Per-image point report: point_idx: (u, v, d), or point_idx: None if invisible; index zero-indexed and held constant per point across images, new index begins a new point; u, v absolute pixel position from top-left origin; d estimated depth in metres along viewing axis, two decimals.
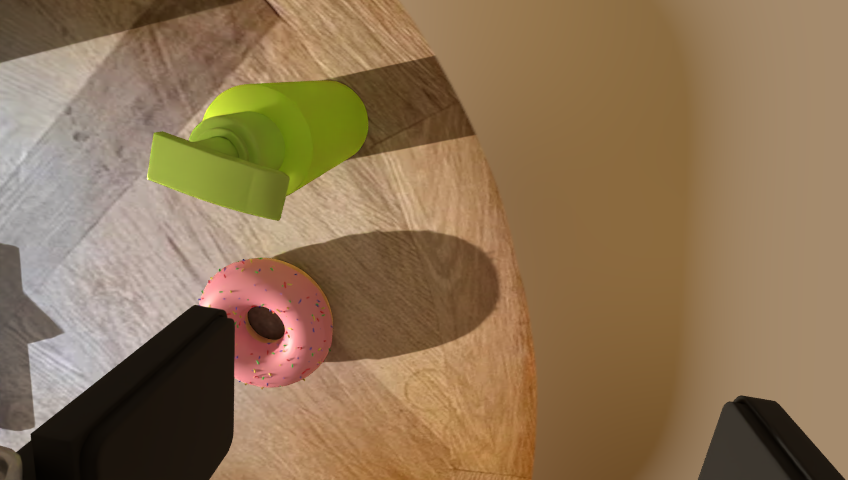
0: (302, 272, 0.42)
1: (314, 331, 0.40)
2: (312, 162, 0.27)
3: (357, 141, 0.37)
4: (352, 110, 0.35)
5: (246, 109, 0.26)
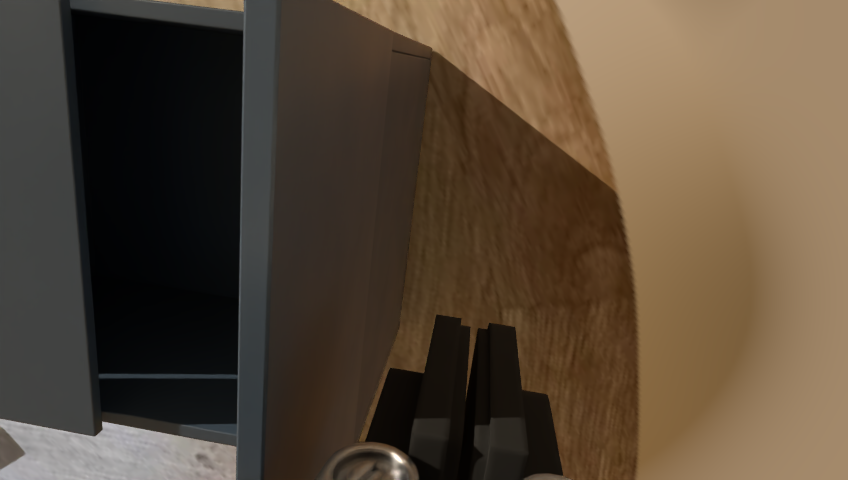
0: None
1: None
2: None
3: None
4: None
5: None
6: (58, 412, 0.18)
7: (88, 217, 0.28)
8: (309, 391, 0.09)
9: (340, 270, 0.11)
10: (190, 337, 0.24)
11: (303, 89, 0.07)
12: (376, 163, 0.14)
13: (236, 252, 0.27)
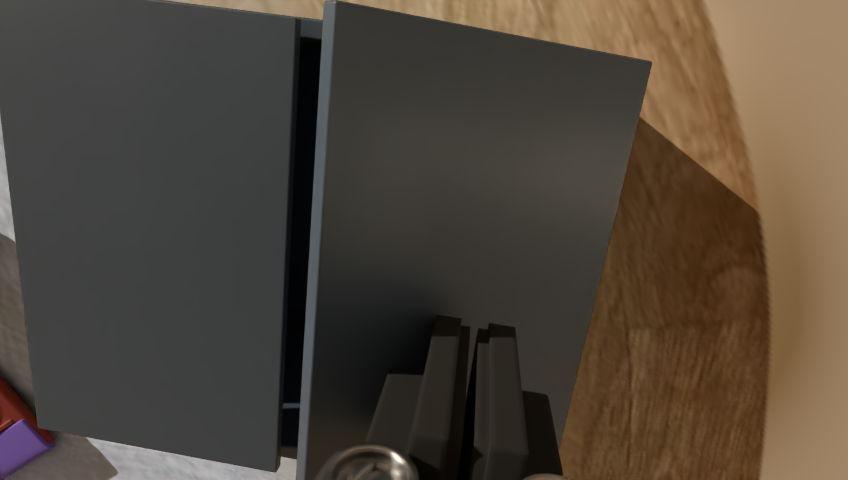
0: None
1: None
2: None
3: None
4: None
5: None
6: (239, 448, 0.17)
7: None
8: (411, 356, 0.11)
9: (489, 272, 0.12)
10: None
11: (383, 88, 0.09)
12: (602, 194, 0.13)
13: None
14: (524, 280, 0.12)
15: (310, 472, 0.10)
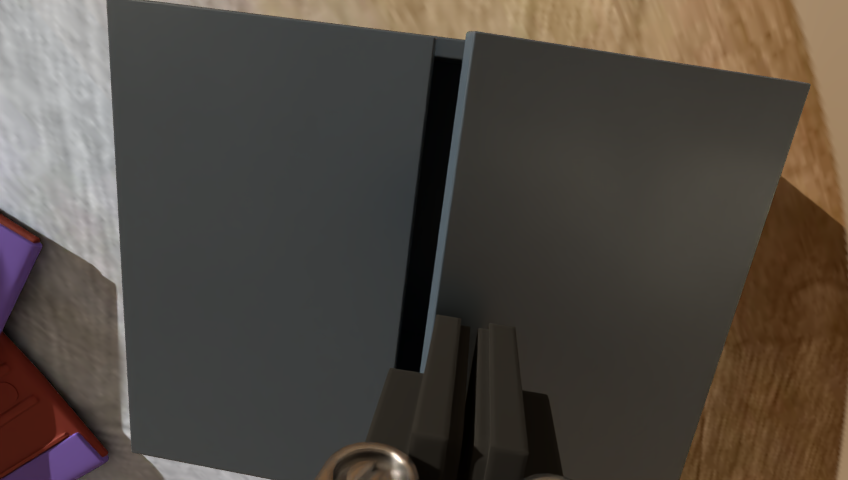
0: None
1: None
2: None
3: None
4: None
5: None
6: None
7: None
8: (522, 347, 0.12)
9: (606, 281, 0.12)
10: None
11: (511, 104, 0.10)
12: (741, 217, 0.13)
13: (426, 286, 0.26)
14: (645, 294, 0.13)
15: None
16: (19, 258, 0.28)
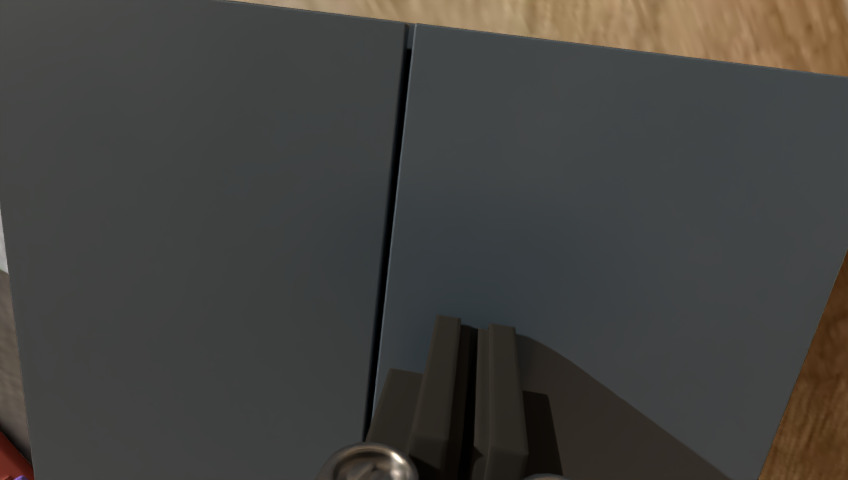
0: None
1: None
2: None
3: None
4: None
5: None
6: None
7: None
8: None
9: (589, 306, 0.11)
10: None
11: (458, 98, 0.10)
12: (797, 257, 0.10)
13: None
14: (646, 332, 0.11)
15: None
16: None
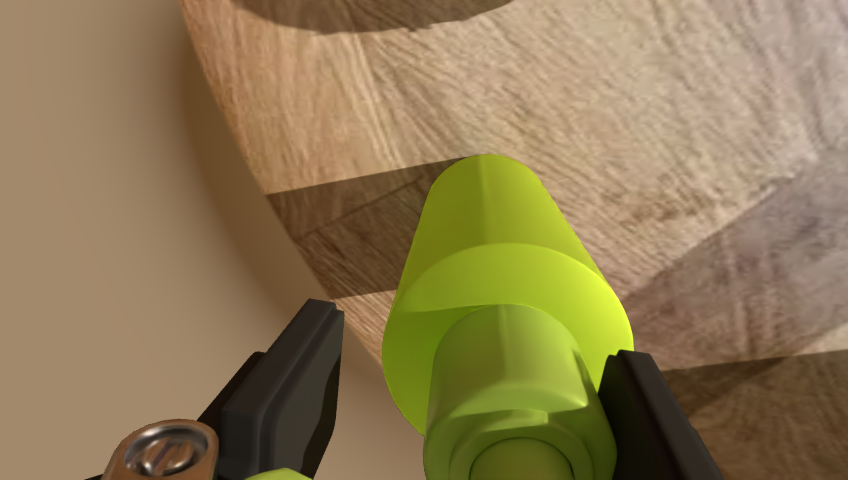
0: None
1: None
2: None
3: (422, 210, 0.22)
4: None
5: None
6: None
7: None
8: None
9: None
10: None
11: None
12: None
13: None
14: None
15: None
16: None
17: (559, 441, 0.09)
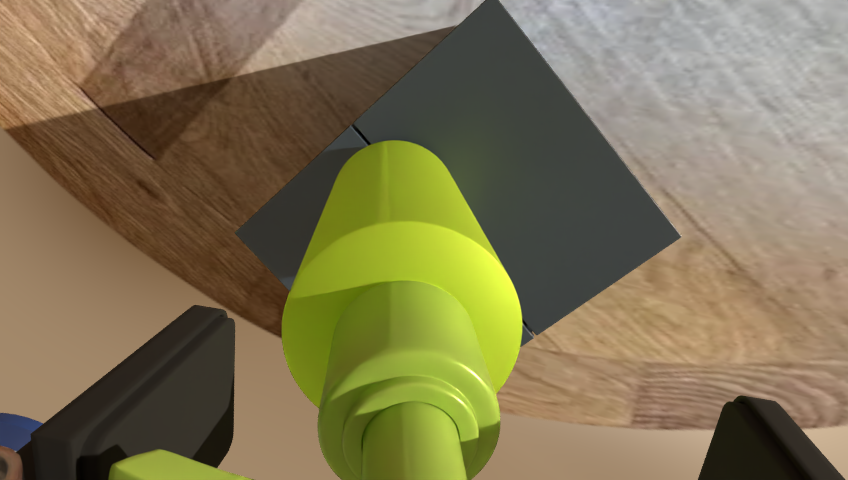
0: None
1: None
2: (284, 308, 0.13)
3: None
4: None
5: None
6: (382, 117, 0.25)
7: None
8: None
9: None
10: None
11: None
12: None
13: None
14: None
15: None
16: None
17: (442, 402, 0.09)
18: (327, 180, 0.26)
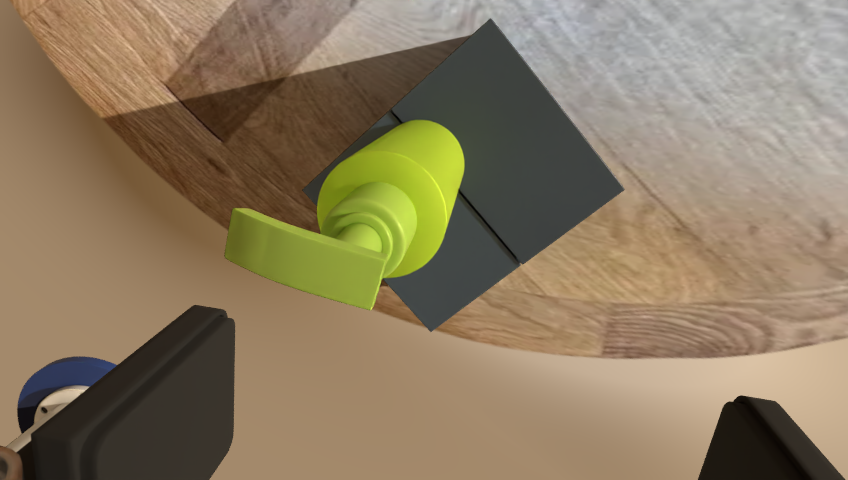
0: None
1: None
2: (319, 197, 0.24)
3: None
4: None
5: None
6: (412, 104, 0.35)
7: None
8: None
9: None
10: None
11: (499, 261, 0.38)
12: (410, 294, 0.39)
13: None
14: None
15: None
16: None
17: (373, 224, 0.20)
18: None
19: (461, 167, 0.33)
